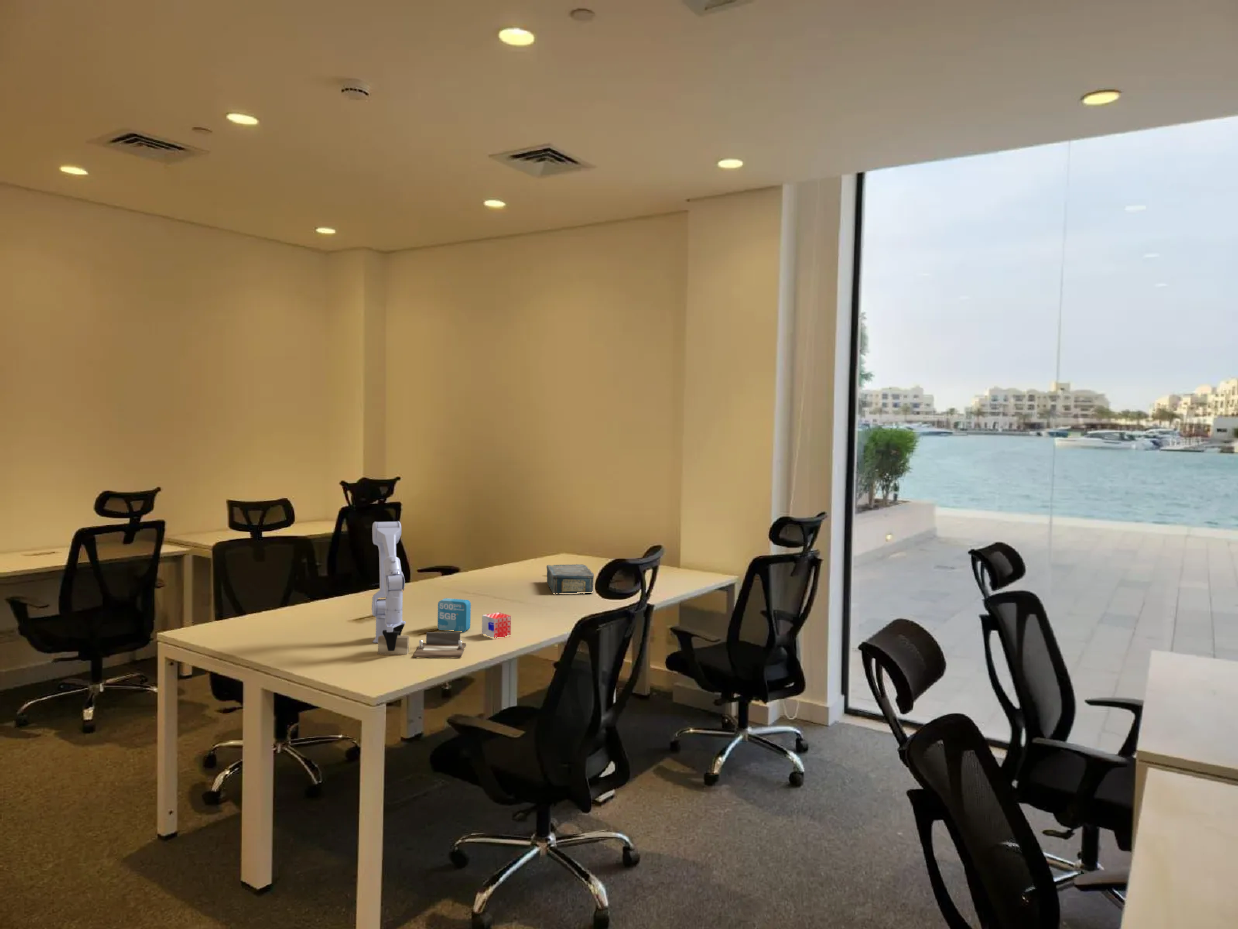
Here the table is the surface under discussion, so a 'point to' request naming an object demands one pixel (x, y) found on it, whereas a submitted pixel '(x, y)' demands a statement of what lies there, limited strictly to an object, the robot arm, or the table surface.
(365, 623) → the table surface
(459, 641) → the hinge pins
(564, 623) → the table surface
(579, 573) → the metal box
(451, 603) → the data package
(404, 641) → the beige wooden block
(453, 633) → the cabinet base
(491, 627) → the puzzle cube
